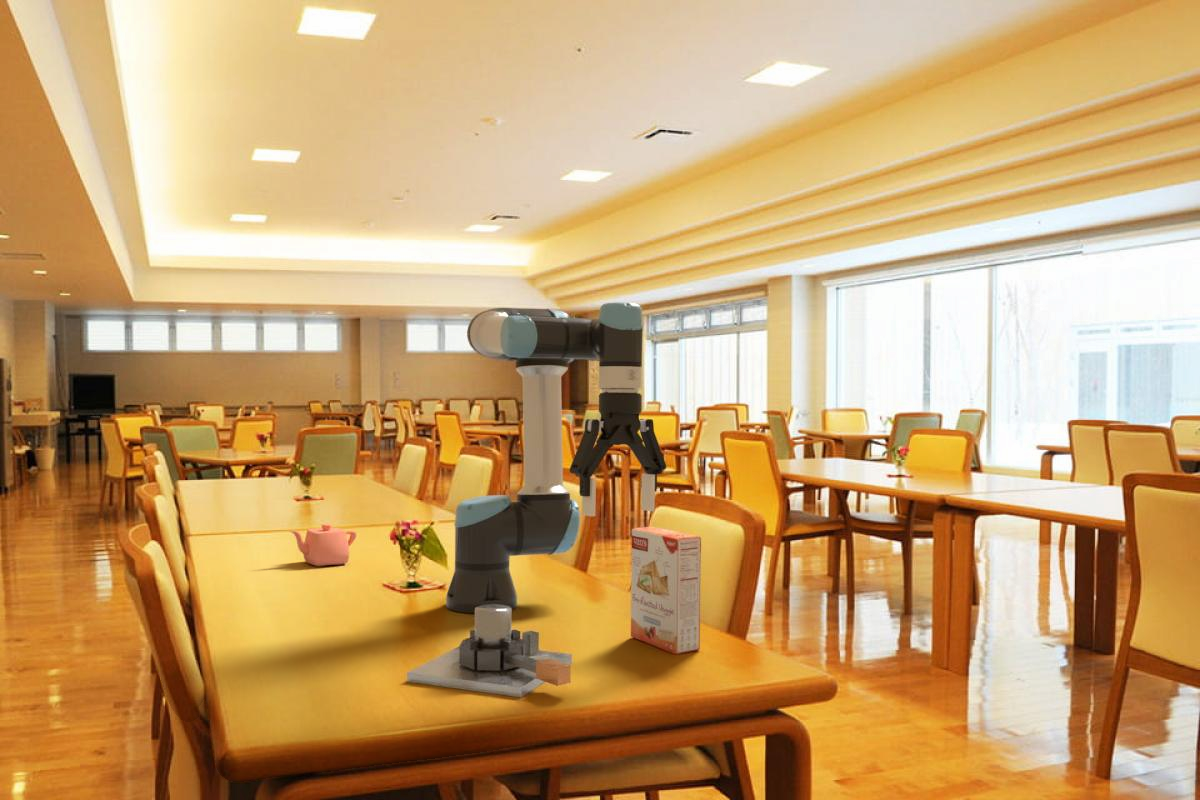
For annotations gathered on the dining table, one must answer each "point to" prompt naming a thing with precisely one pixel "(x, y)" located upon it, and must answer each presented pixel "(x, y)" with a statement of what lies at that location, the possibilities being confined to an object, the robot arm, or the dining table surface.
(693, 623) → the cracker box
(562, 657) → the flange plate
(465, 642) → the wrench
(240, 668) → the dining table surface
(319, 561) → the teapot
